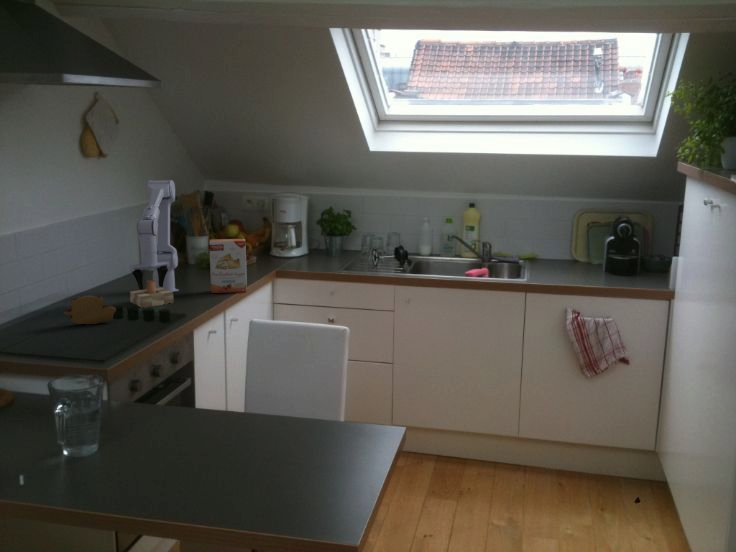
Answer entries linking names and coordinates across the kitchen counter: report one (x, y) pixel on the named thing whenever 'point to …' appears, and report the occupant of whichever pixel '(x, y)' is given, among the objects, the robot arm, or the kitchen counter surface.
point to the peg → (151, 286)
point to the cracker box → (228, 265)
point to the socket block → (151, 297)
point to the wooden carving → (90, 310)
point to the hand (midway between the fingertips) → (151, 288)
